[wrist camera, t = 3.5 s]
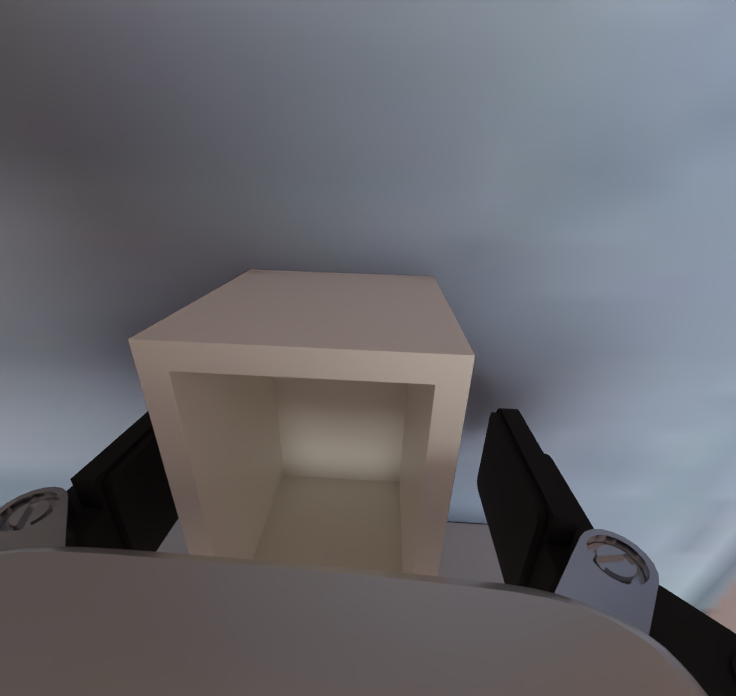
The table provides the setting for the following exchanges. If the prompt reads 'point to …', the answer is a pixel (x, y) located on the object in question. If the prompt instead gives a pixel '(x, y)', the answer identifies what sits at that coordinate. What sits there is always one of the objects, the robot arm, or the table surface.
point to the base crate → (458, 558)
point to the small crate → (311, 417)
